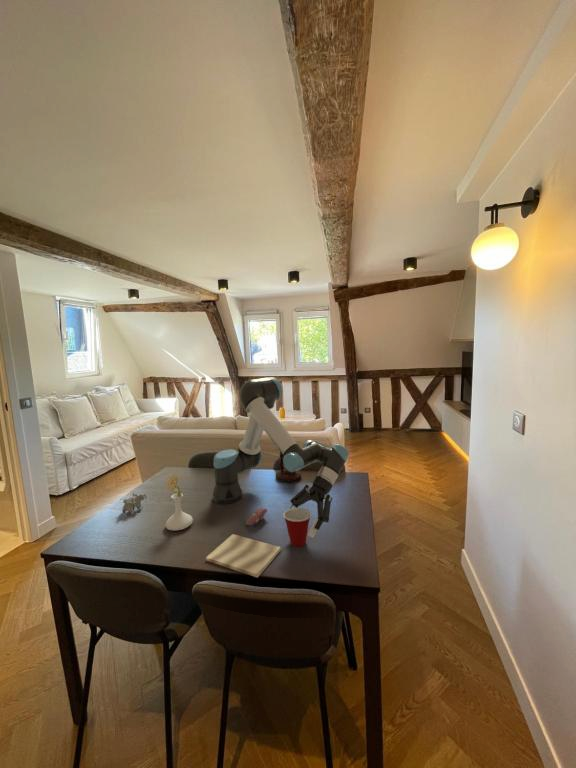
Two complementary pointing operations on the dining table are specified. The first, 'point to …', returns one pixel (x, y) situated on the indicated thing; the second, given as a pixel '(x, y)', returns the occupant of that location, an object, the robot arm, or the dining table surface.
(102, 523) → the dining table surface
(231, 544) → the birch board
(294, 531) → the plastic cup
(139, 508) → the elephant statuette
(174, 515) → the flower in vase
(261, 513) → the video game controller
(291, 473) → the brown wooden upright piece
